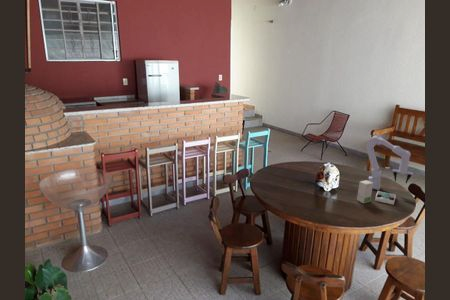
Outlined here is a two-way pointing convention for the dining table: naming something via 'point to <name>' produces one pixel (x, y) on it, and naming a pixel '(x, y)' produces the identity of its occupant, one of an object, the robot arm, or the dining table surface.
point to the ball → (385, 195)
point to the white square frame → (385, 199)
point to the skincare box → (364, 191)
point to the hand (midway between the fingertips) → (400, 182)
